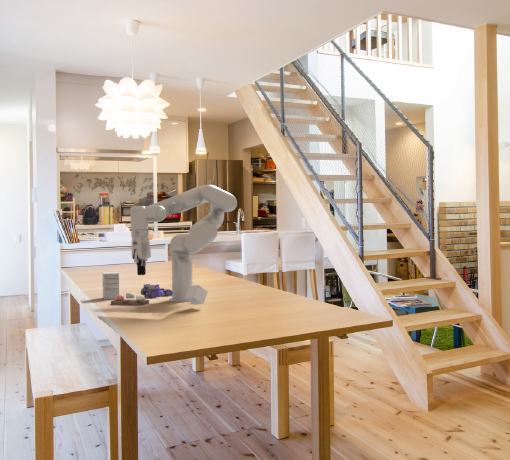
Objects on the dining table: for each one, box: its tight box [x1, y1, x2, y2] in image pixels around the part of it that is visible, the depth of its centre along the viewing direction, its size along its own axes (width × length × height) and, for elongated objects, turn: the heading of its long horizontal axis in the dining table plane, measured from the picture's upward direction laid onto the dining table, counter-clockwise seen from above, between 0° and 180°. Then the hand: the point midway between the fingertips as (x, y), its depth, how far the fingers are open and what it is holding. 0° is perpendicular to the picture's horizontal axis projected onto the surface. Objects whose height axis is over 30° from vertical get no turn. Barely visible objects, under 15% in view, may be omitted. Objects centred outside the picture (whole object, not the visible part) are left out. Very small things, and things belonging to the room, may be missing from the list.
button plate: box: [110, 298, 150, 306], centre depth 214 cm, size 16×6×2 cm, turn 77°
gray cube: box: [185, 284, 208, 305], centre depth 208 cm, size 6×6×6 cm
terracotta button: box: [115, 294, 125, 300], centre depth 215 cm, size 4×4×2 cm
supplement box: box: [102, 271, 120, 301], centre depth 233 cm, size 7×7×13 cm
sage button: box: [125, 292, 135, 299], centre depth 214 cm, size 4×4×2 cm
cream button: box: [135, 294, 146, 301], centre depth 213 cm, size 4×4×2 cm
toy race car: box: [140, 283, 172, 299], centre depth 240 cm, size 10×15×6 cm, turn 130°
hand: (141, 274), depth 213 cm, fingers closed
